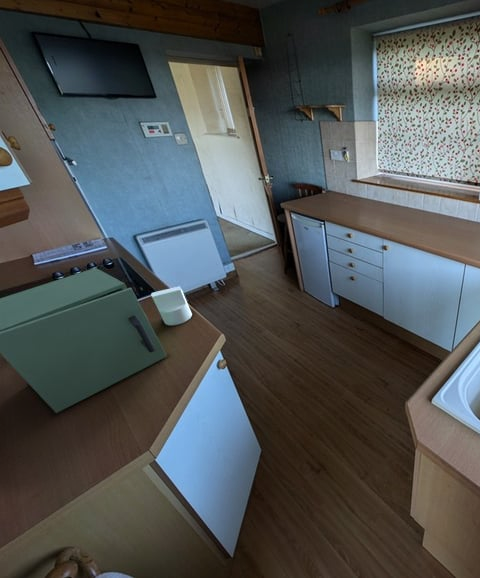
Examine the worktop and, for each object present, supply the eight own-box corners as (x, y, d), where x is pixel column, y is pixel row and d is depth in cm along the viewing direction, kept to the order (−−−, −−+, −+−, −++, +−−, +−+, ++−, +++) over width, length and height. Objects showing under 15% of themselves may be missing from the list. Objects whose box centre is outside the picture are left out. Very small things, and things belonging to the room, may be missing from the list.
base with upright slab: (164, 328, 105) (150, 301, 99) (164, 315, 112) (151, 289, 105) (192, 320, 110) (181, 293, 103) (190, 308, 116) (180, 282, 110)
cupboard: (160, 351, 96) (124, 283, 82) (55, 411, 77) (-16, 336, 63) (132, 332, 103) (95, 267, 90) (30, 383, 84) (-37, 310, 70)
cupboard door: (174, 364, 91) (139, 295, 77) (61, 426, 73) (-11, 350, 59) (165, 355, 94) (130, 287, 80) (55, 411, 76) (-14, 336, 63)
